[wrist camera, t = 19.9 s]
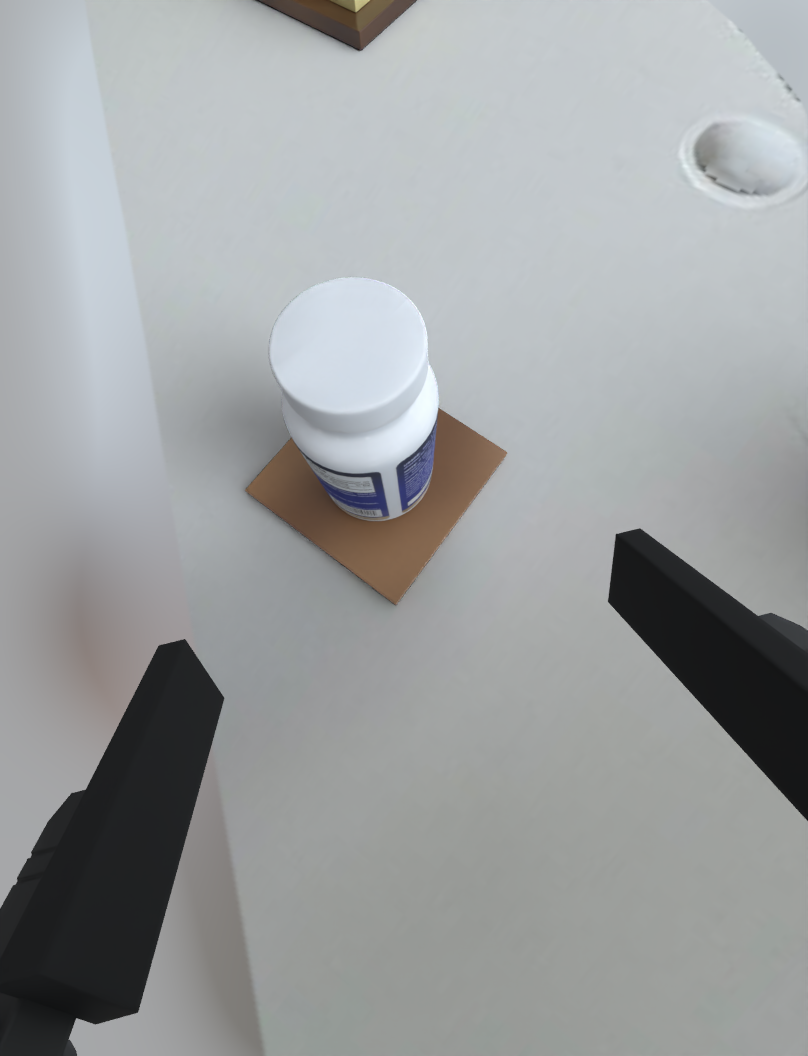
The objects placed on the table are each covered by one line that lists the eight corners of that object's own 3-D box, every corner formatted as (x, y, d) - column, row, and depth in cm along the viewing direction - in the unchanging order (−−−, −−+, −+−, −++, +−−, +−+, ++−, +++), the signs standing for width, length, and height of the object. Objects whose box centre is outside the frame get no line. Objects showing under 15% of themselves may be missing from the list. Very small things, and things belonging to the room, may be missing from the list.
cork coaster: (248, 493, 21) (244, 490, 21) (362, 364, 23) (361, 357, 23) (396, 605, 20) (395, 604, 19) (505, 456, 22) (507, 452, 21)
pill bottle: (403, 407, 22) (396, 234, 12) (450, 495, 21) (484, 379, 11) (307, 449, 21) (221, 302, 12) (349, 542, 20) (291, 463, 10)
